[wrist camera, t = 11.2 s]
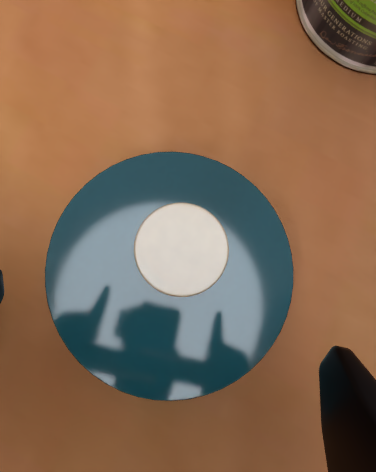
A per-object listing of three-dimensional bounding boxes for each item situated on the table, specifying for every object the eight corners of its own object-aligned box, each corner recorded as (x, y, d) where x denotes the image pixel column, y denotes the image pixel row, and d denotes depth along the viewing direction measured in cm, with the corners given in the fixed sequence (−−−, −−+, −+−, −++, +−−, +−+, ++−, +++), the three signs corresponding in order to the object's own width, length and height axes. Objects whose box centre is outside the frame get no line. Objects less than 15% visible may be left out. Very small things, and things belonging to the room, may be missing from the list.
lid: (217, 442, 19) (278, 603, 9) (2, 316, 19) (-166, 340, 9) (324, 229, 22) (465, 173, 12) (131, 118, 22) (106, -29, 12)
